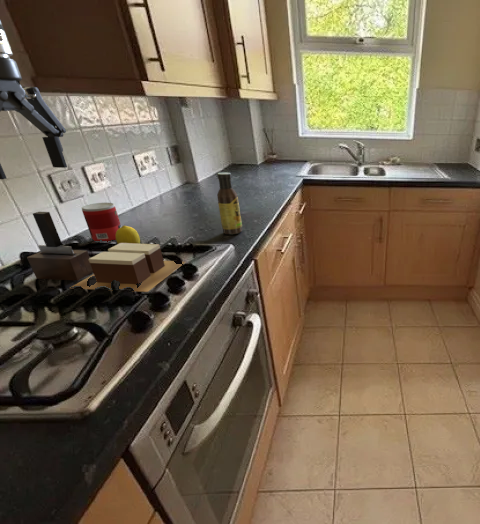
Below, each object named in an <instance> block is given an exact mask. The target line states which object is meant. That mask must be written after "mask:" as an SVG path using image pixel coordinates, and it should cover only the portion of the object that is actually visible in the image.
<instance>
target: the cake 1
mask: <svg viewBox="0 0 480 524" xmlns="http://www.w3.org/2000/svg"><path fill="white" fill-rule="evenodd" d="M89 262H90V265H91V267H92V270H93V272H92V274H94V276H95V278H96V281H97V282H100V283H111V282H112V281H113V280H116V281H119V282H120V283H121V284H137V283H138V284H139V283H141V282H143V281H144V280H146V279H147V278H148V277H150V276H151V275H150V271H149V268H148V265H147V261H146V258H145V254H144V253H122V252H109V251H101V252H99V253H98V254H96V255H93V256H92V257H90V259H89Z"/></svg>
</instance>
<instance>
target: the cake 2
mask: <svg viewBox="0 0 480 524" xmlns="http://www.w3.org/2000/svg"><path fill="white" fill-rule="evenodd" d="M107 252H122V253H144V254H145V258H146V261H147V265H148V268H149V271H150V273H155V272H157V271H158V270H160V269H161V268H162V267H164V266H165V264H164V261H165V260H164V257H163V253H162V249H161V246H160V244H159V243H158V244H157V243H140V244H137V243H119V244H118V243H116V244H115V245H113V246H112V247H109V248H108V249H107Z"/></svg>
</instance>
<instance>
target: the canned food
mask: <svg viewBox="0 0 480 524" xmlns="http://www.w3.org/2000/svg"><path fill="white" fill-rule="evenodd" d="M81 211H82V215H83V217H84V220H85V224H86V226H87V228H88V231H89V234H90V236H91V240H92V239H93V240H94V241H100V240H102V241H107V242H108V241H111V240H115V241H116V232H117V230H118V229H119V228H121V227H122V224H121V221H120V218H119V215H118V212H117V208H116V205H115V203H113V202H96V203H90V204H86V205H83V206H82V207H81ZM93 240H92V241H93ZM94 241H93V242H94Z"/></svg>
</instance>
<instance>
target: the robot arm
mask: <svg viewBox="0 0 480 524" xmlns="http://www.w3.org/2000/svg"><path fill="white" fill-rule="evenodd" d="M6 33H7V32H6V31H5V28H4V26H3V23H2V20H0V112H11V111H13V112H16V113H19V114H20V115H21V116H22V117H24V118H25V119H26V120H27V121H29V123H30V124H32V126H34V128H36V129H38V131H40V132H41V133H42V134H43V135H45V136H42V141H43V143H44V146H45V149H46V152H47V155H48V157H49V160H50V163H51V165H52V167H53V168H59V169H60V168H61V169H65V168H68V164H67V162H66V159H65V155H64V147H63V144H62V142H61V139H60V138H63V137H64V134H66V133H67V130H66V128H65V127H64V125H63V124H62V123H61V121H60V120H59V119H58V117H57V116H56V115H55V113H54V112H53V111H52V110H51V109H50V106H48V104H47V103H46V101H45V100H44V98H43V96H42V95H41V93H40V90H39V88H38V87H36V86H22V85H21V83H20V82H21V81H22V80H23V76H22V74H21V72H20V68H19V66H18V63H17V61H16V60H15V59H13V58H11V57H12V56H13V55H14V53H13V50H12V47H11V44H10V42H9V39H8V36H7V34H6ZM7 179H8V178H7V176H6V173H5V171H4V169H3V167H2V164H1V163H0V180H7Z"/></svg>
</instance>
